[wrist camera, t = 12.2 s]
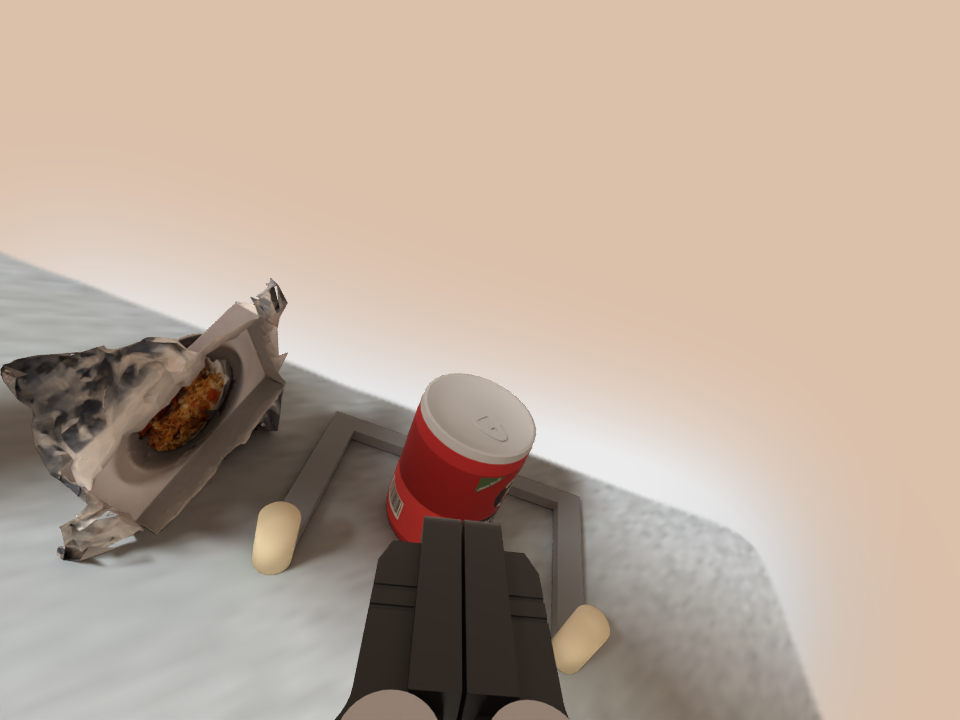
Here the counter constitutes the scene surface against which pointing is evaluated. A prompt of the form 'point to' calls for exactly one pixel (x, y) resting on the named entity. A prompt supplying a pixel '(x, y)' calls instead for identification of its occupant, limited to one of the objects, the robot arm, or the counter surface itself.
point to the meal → (150, 418)
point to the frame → (572, 621)
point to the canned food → (459, 454)
